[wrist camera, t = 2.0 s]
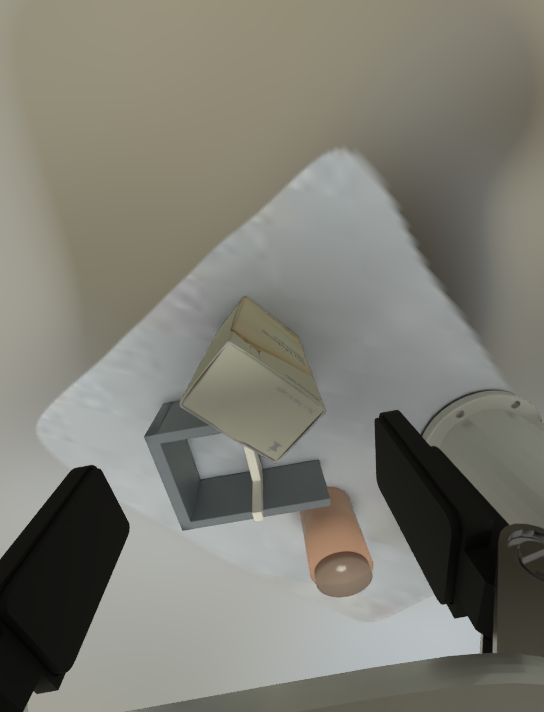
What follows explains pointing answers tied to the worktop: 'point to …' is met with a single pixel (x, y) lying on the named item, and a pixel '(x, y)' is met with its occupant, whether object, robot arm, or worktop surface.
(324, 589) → the jar
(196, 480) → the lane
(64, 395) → the worktop surface
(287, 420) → the skincare box
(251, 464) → the bar
